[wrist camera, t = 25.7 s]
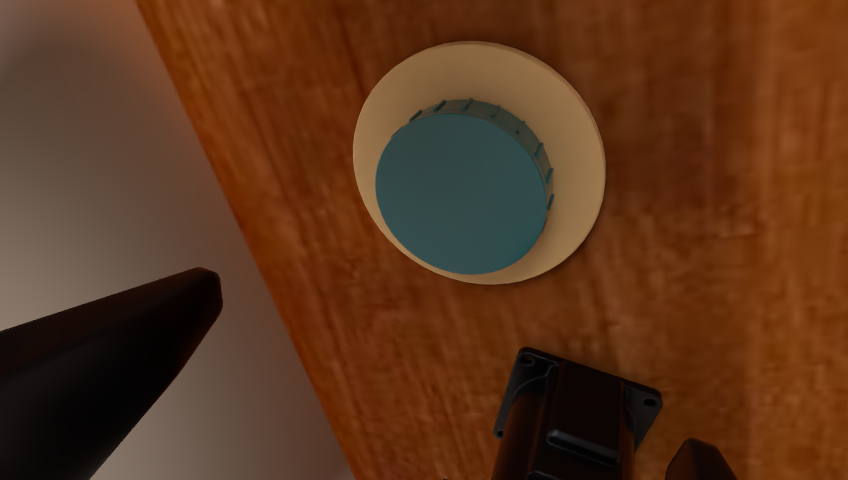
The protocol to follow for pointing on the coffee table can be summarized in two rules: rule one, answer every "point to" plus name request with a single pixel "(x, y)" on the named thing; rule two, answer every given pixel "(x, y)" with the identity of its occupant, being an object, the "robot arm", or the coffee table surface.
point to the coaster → (521, 96)
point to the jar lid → (465, 186)
